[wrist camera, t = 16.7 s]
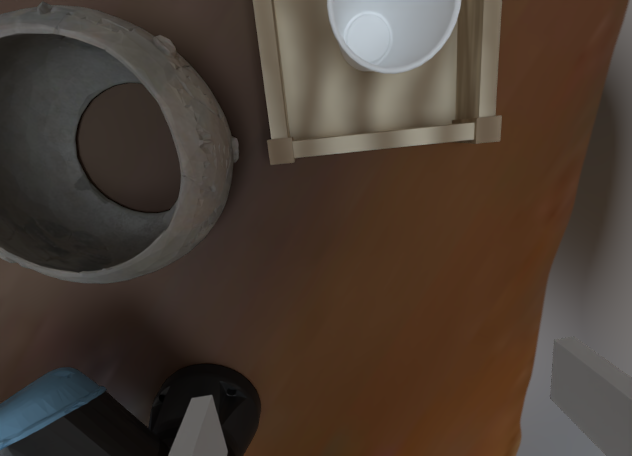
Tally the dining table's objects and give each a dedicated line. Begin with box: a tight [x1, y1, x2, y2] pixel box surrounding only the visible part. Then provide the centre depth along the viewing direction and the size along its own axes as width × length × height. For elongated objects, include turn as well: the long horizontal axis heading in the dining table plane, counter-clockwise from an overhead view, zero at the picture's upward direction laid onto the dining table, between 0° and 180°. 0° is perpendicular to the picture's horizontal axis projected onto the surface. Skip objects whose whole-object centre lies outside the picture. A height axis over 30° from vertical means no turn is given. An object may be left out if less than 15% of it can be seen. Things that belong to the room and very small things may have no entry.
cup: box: [327, 0, 461, 74], centre depth 29 cm, size 10×10×11 cm
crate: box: [253, 0, 502, 165], centre depth 32 cm, size 23×23×6 cm
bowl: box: [0, 1, 239, 284], centre depth 30 cm, size 23×23×15 cm
